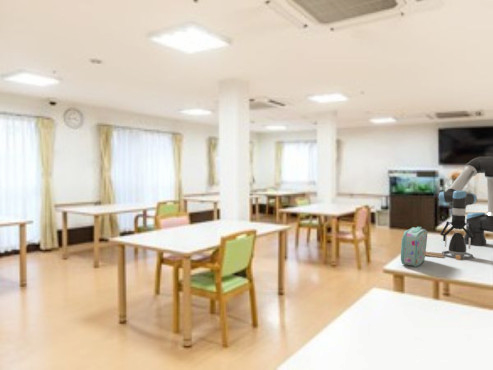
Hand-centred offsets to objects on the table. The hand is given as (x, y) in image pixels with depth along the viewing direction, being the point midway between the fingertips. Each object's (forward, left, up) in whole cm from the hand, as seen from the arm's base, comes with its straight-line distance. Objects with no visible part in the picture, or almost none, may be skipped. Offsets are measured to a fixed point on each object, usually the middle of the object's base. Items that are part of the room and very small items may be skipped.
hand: (457, 247), depth 253 cm
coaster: (+5, -13, -6) cm, 15 cm away
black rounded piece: (0, 0, -6) cm, 6 cm away
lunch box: (+31, -25, -6) cm, 40 cm away
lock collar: (0, 0, -6) cm, 6 cm away
